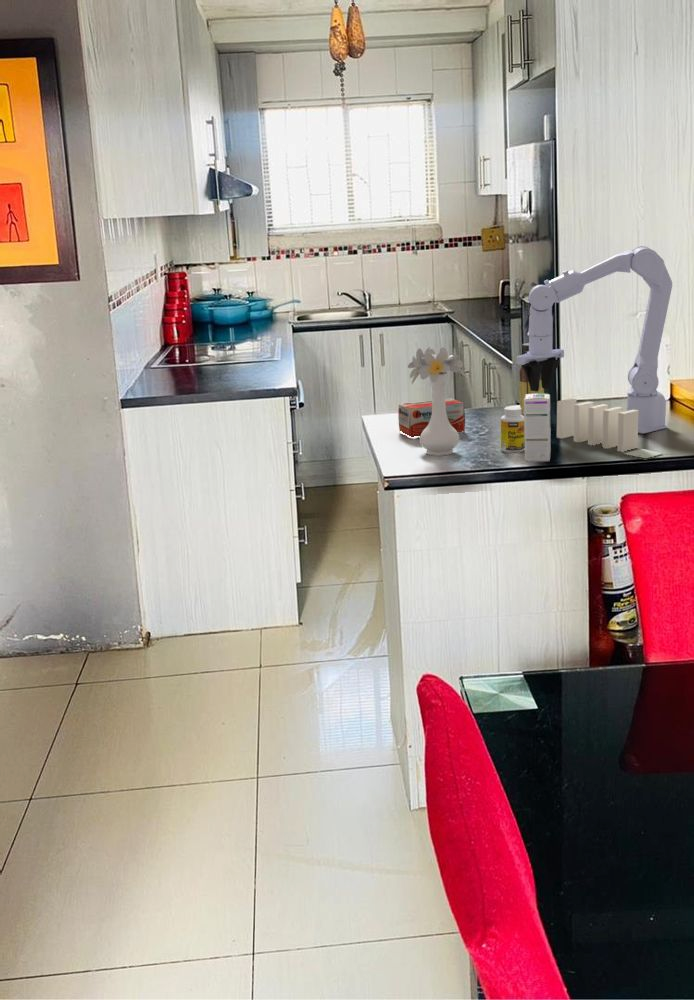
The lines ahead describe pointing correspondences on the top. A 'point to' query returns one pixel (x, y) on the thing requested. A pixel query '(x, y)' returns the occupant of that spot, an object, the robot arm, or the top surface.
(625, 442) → the domino
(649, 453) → the felt pad
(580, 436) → the domino
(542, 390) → the sauce bottle
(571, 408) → the domino
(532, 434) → the syrup box
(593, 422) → the domino
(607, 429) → the domino
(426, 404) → the medicine box
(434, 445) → the flower vase
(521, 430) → the supplement bottle
